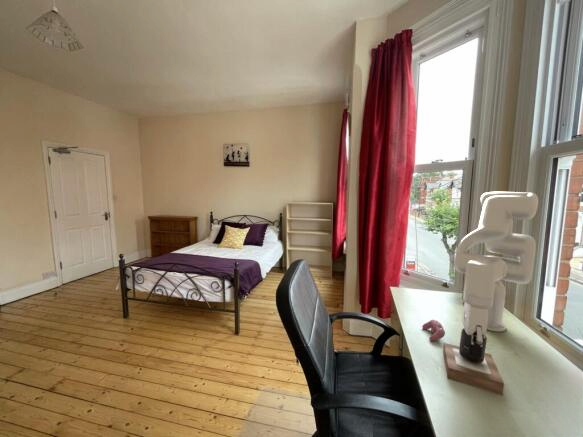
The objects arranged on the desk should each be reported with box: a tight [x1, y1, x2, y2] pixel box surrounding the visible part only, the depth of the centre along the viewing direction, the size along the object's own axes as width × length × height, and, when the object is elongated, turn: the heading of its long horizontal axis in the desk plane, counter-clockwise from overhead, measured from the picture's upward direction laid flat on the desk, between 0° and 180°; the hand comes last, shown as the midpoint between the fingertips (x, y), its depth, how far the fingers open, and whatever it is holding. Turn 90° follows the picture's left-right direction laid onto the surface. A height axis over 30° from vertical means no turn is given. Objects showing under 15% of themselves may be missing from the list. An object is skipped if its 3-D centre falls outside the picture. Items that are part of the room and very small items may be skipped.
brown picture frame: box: [442, 342, 505, 396], centre depth 82 cm, size 14×14×4 cm
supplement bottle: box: [459, 327, 488, 364], centre depth 80 cm, size 7×7×12 cm
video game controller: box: [421, 319, 446, 342], centre depth 101 cm, size 10×5×7 cm, turn 169°
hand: (472, 348), depth 81 cm, fingers closed on supplement bottle, 6 cm apart
